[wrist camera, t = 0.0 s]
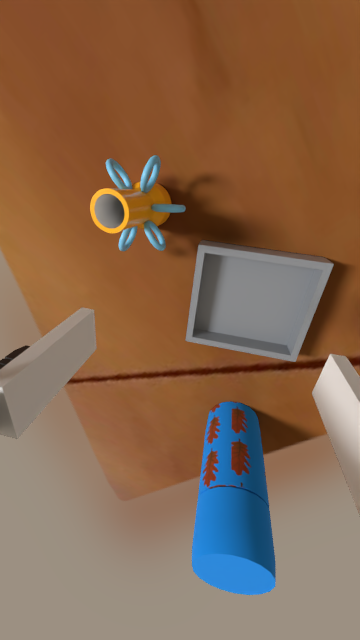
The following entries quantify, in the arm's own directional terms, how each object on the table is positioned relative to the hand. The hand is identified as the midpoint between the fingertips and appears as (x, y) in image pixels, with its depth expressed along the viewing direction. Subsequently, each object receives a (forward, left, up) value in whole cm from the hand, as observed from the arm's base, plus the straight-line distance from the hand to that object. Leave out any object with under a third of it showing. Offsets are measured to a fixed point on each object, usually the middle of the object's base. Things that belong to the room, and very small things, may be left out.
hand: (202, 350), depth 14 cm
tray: (+7, +6, -28) cm, 29 cm away
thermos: (+35, +9, -28) cm, 46 cm away
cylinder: (-5, -11, -28) cm, 31 cm away
